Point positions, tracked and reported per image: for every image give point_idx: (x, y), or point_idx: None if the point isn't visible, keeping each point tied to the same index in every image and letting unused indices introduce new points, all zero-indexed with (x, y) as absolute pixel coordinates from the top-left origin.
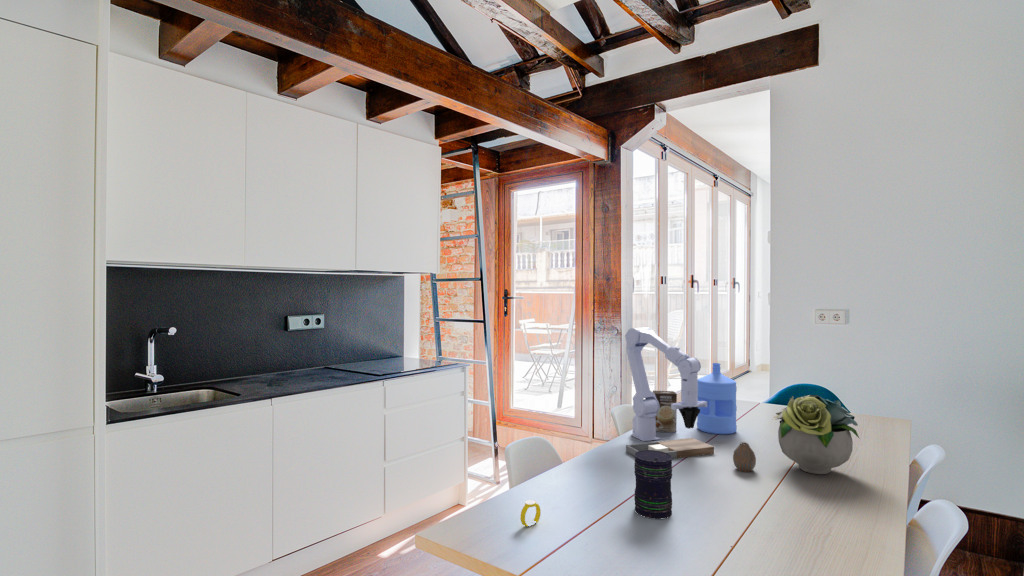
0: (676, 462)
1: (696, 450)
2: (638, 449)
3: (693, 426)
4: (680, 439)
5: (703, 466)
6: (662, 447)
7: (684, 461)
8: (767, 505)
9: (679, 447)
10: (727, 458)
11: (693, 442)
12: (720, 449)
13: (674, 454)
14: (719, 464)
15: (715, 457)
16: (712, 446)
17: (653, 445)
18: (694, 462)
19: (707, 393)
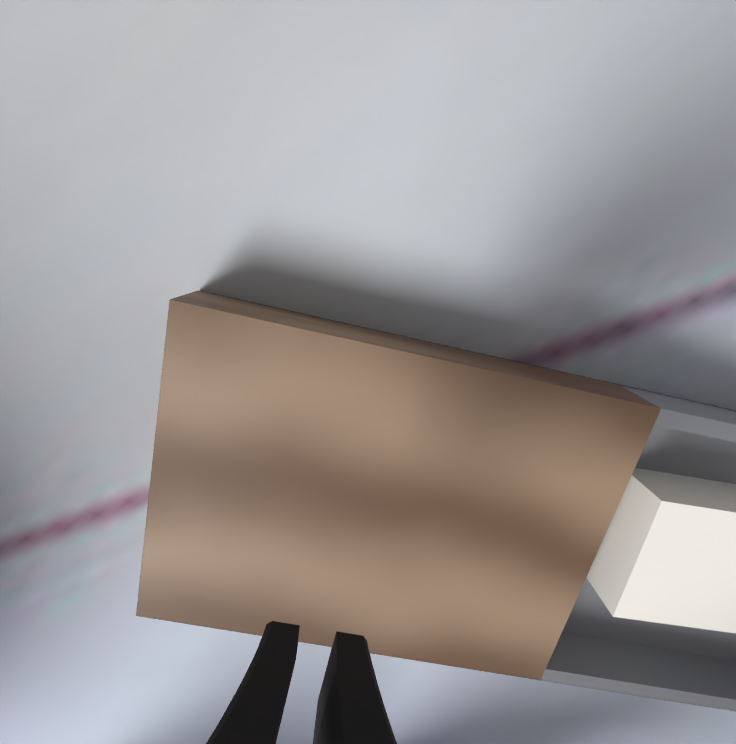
0: (721, 308)
1: (411, 349)
2: (698, 657)
3: (273, 640)
4: None
5: (636, 70)
6: (695, 537)
7: (640, 287)
8: None
9: (523, 474)
10: (191, 102)
11: (253, 514)
12: (27, 346)
13: (663, 402)
14: (441, 9)
15: (281, 201)
16: (178, 315)
17: (700, 614)
18: (593, 213)
19: None
